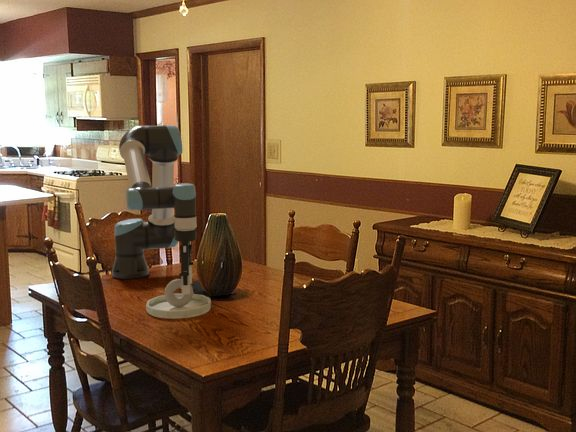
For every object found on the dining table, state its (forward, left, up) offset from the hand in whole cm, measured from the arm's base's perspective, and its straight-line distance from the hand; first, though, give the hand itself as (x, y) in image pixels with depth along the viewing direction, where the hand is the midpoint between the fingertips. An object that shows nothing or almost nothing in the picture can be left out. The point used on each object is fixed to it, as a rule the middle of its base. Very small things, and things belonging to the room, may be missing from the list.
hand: (187, 288), depth 236 cm
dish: (0, -3, -7) cm, 8 cm away
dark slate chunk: (-25, +8, -8) cm, 28 cm away
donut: (0, -3, -7) cm, 7 cm away
